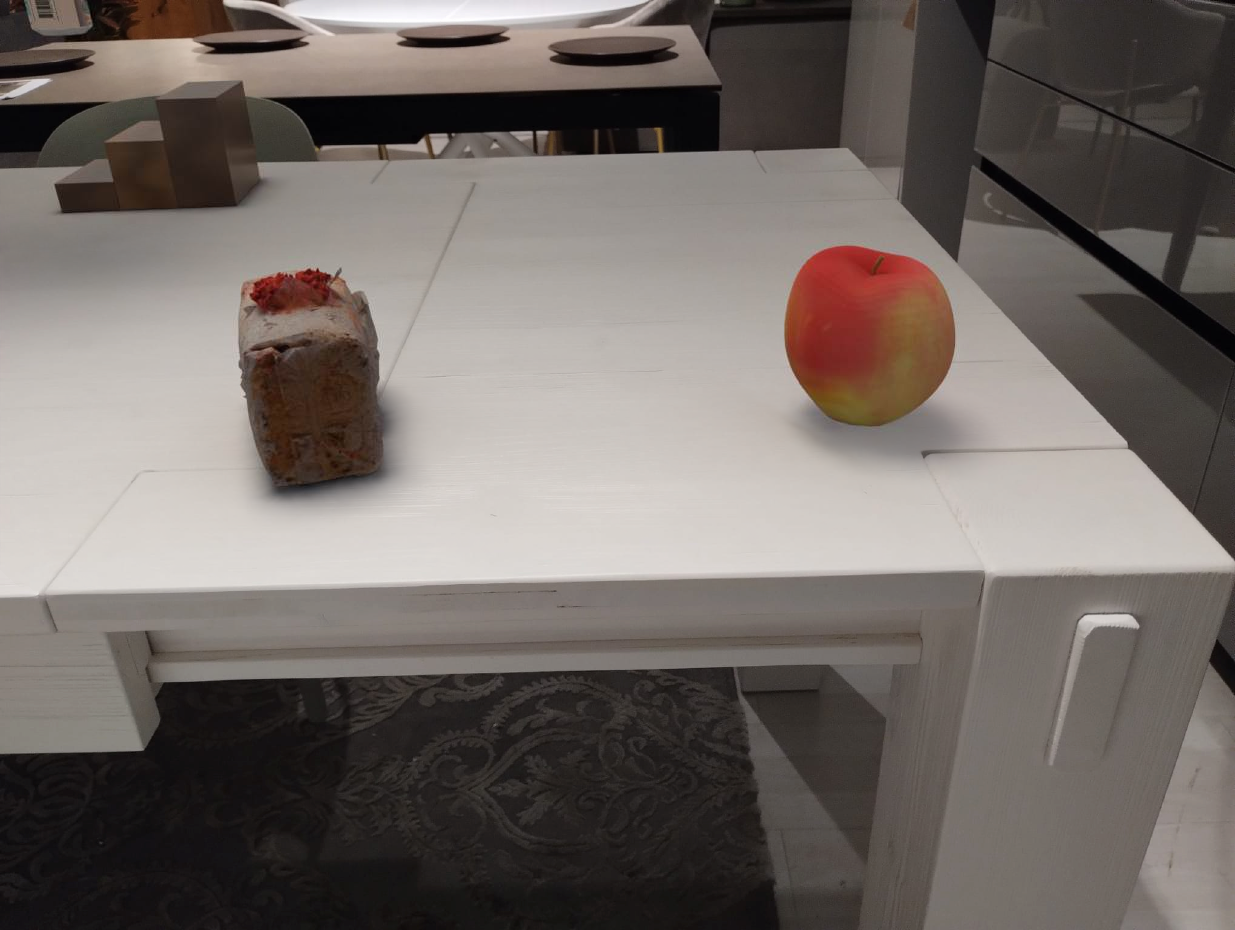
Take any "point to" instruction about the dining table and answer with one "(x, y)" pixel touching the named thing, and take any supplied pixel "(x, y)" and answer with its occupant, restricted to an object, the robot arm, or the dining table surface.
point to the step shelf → (173, 156)
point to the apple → (868, 334)
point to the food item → (310, 376)
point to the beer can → (59, 16)
